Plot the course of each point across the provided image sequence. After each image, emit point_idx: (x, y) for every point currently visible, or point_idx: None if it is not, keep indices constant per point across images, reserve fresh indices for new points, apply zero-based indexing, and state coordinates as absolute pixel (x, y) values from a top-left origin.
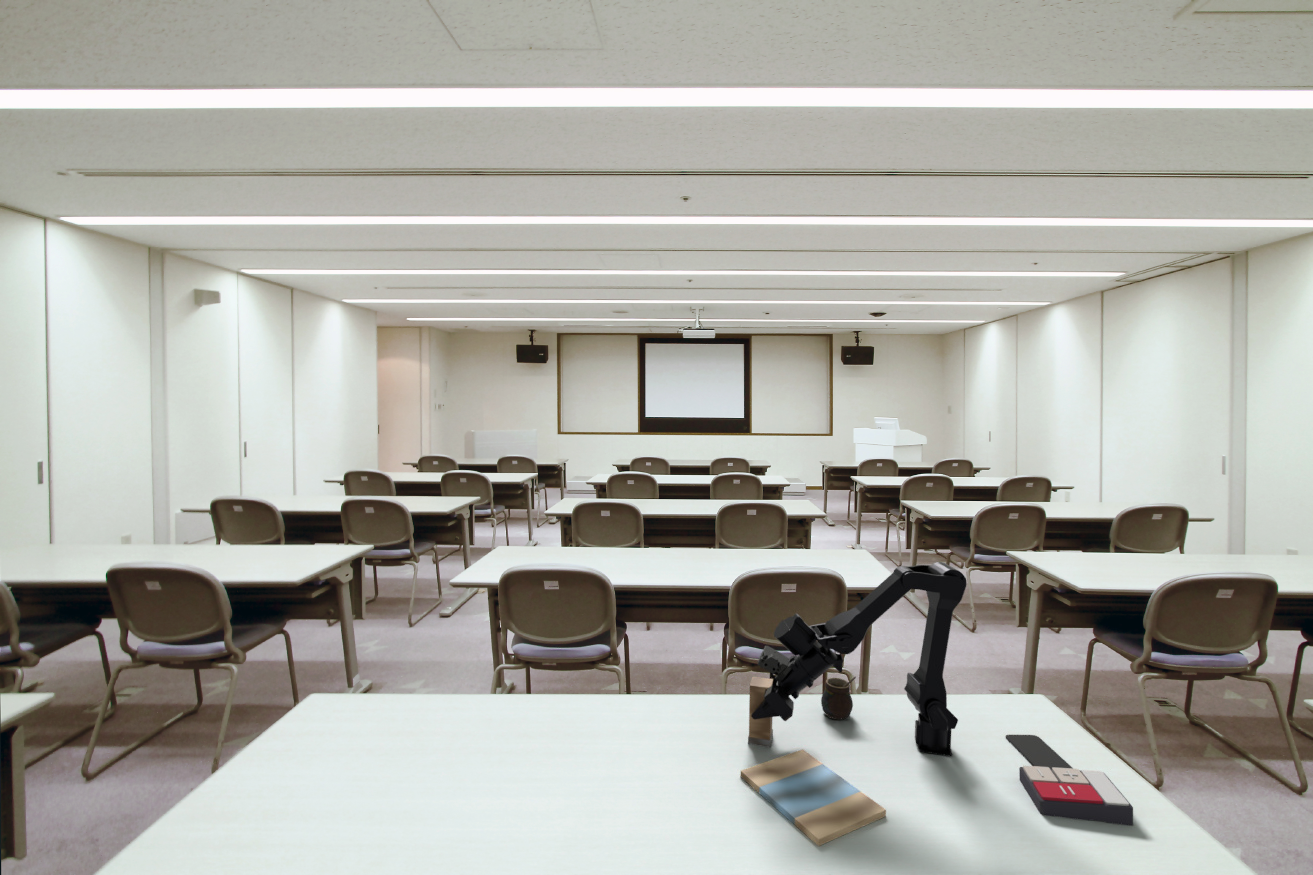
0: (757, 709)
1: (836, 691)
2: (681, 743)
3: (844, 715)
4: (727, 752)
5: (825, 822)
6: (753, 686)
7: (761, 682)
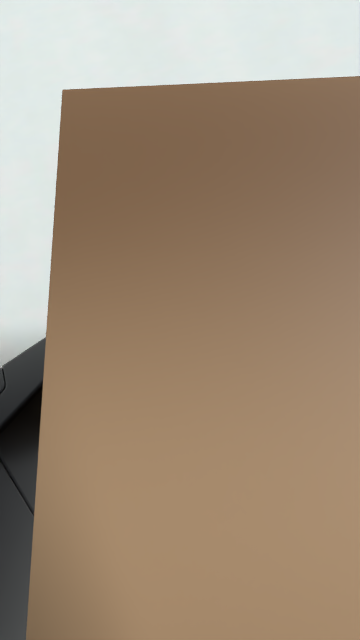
0: (35, 349)
1: None
2: (94, 80)
3: None
4: None
5: None
6: (59, 180)
7: (309, 330)
